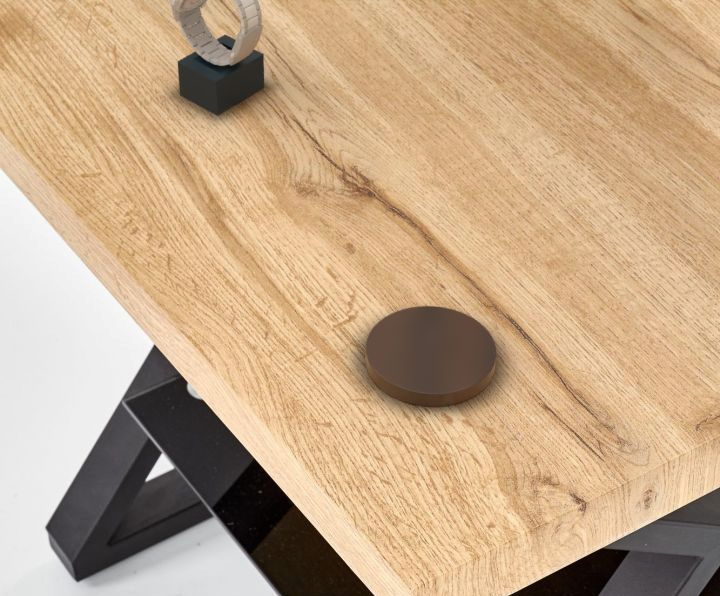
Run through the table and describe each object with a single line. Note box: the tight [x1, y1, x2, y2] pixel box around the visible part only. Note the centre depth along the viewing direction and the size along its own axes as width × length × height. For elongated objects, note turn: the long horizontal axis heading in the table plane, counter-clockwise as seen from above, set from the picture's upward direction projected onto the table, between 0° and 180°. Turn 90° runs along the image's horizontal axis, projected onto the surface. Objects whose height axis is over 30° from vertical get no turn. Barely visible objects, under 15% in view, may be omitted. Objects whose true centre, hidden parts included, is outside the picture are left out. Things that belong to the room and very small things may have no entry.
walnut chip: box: [364, 305, 498, 408], centre depth 108 cm, size 9×9×1 cm
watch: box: [167, 0, 265, 116], centre depth 126 cm, size 6×8×11 cm
